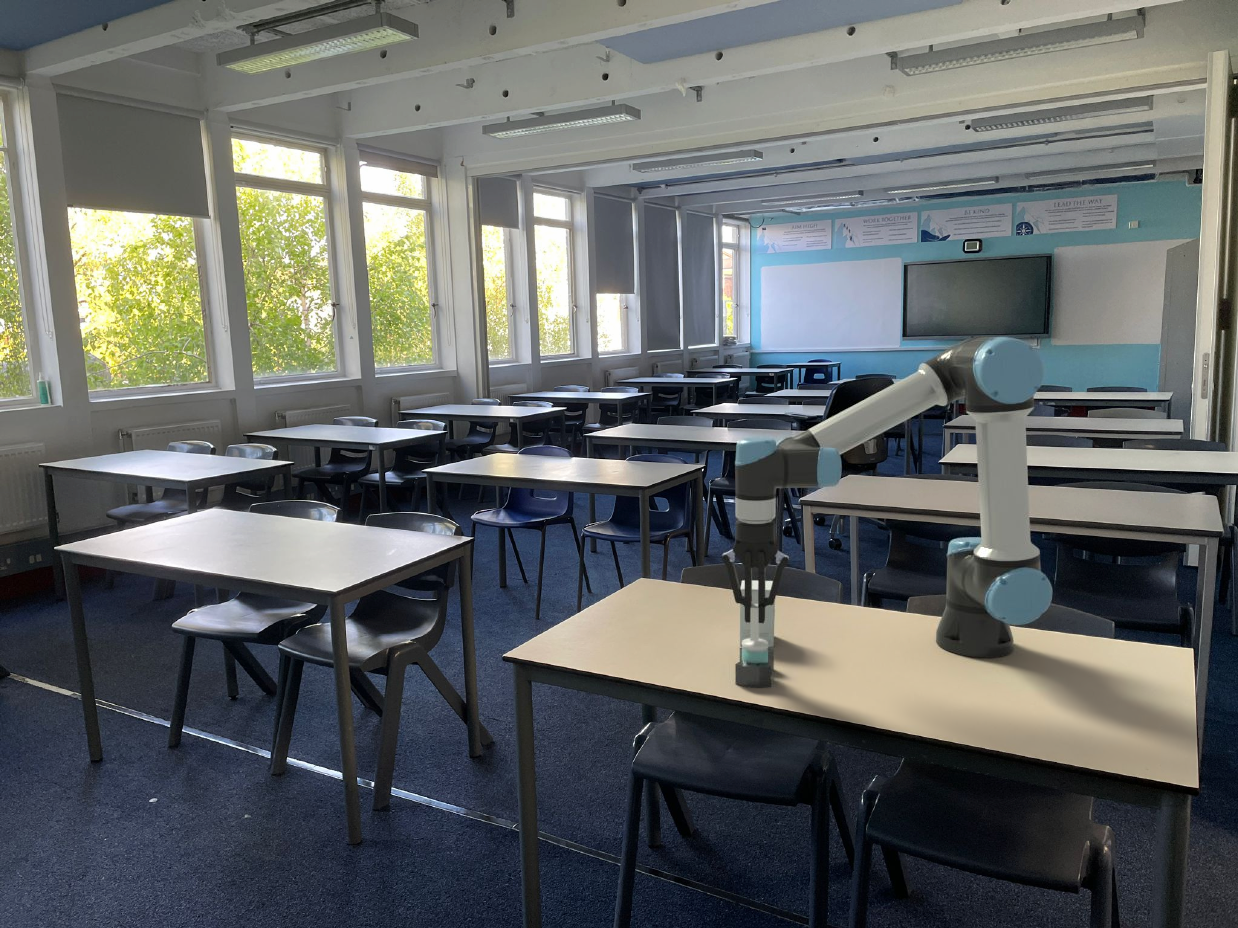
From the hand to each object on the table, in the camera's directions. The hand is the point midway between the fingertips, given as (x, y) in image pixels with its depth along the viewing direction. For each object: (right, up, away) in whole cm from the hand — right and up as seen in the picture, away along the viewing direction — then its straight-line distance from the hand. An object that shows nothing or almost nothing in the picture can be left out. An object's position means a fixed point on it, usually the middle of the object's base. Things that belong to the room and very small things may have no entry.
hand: (754, 638), depth 167 cm
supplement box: (+4, -5, +21) cm, 22 cm away
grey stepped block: (0, -8, +1) cm, 8 cm away
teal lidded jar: (0, -8, +1) cm, 8 cm away
